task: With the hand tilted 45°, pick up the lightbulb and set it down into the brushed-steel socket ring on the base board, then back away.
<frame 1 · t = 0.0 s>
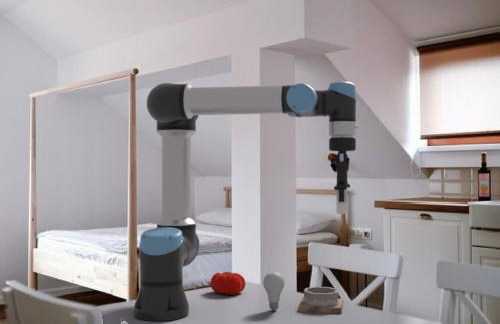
hand: (342, 212, 173), 28 cm above the table, tool pointing down, fingers open, 13 cm apart
bulb socket: (321, 307, 176), on the table
lightbulb: (273, 311, 173), on the table
tomato: (227, 294, 196), on the table
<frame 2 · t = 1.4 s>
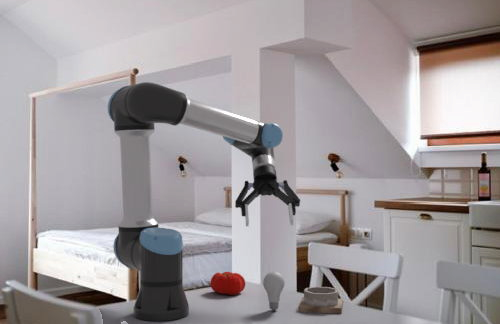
hand: (269, 223, 184), 24 cm above the table, tool tilted 45°, fingers open, 13 cm apart
nothing on the table moved.
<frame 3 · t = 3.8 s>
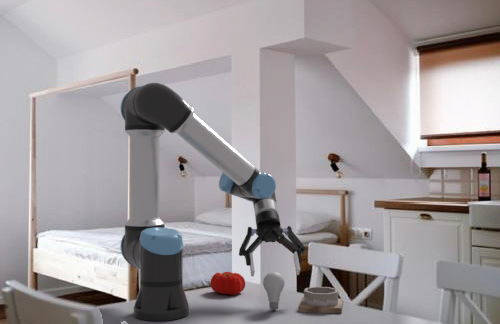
hand: (275, 273, 178), 10 cm above the table, tool tilted 45°, fingers open, 13 cm apart
nothing on the table moved.
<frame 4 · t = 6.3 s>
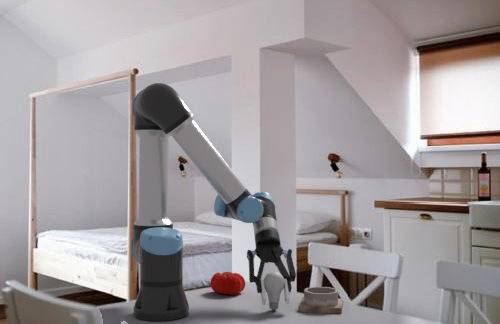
hand: (276, 301, 169), 3 cm above the table, tool tilted 45°, fingers closed on lightbulb, 6 cm apart
lightbulb: (273, 311, 173), on the table, touching gripper
everything else where it was.
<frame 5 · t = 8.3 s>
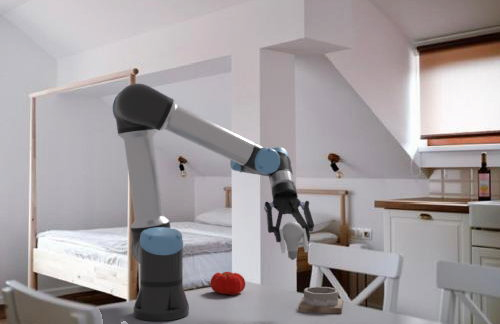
hand: (295, 249, 171), 18 cm above the table, tool tilted 45°, fingers closed on lightbulb, 6 cm apart
lightbulb: (292, 260, 174), point 14 cm above the table, touching gripper
everything else where it was.
when the fingers open (6 cm above the table, at t = 10.7 s): lightbulb drops 1 cm, resting on bulb socket.
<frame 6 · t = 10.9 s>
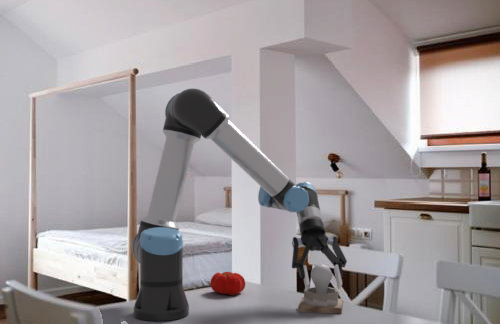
hand: (324, 286, 173), 7 cm above the table, tool tilted 45°, fingers open, 9 cm apart
lightbulb: (321, 302, 176), point 1 cm above the table, touching bulb socket
everything else where it was.
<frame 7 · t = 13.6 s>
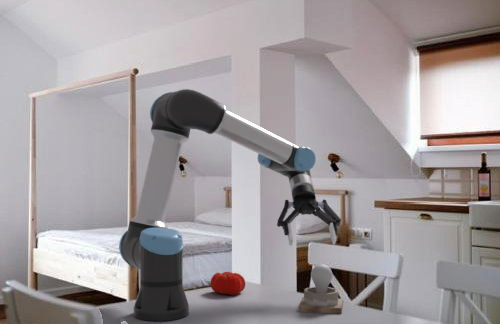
hand: (313, 242, 187), 18 cm above the table, tool tilted 45°, fingers open, 13 cm apart
nothing on the table moved.
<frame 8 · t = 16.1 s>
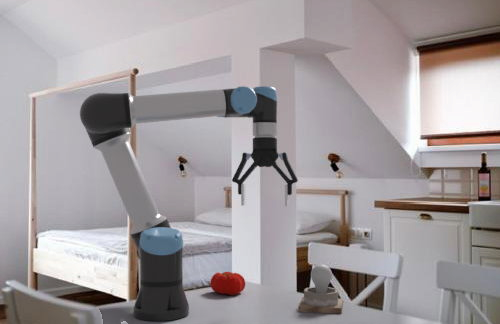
hand: (264, 205, 188), 29 cm above the table, tool pointing down, fingers open, 13 cm apart
nothing on the table moved.
at the end: lightbulb 0.2 cm off-centre on the bulb socket, point 1.3 cm above the bulb socket's base; lightbulb tilted 0°; the gripper is holding nothing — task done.
